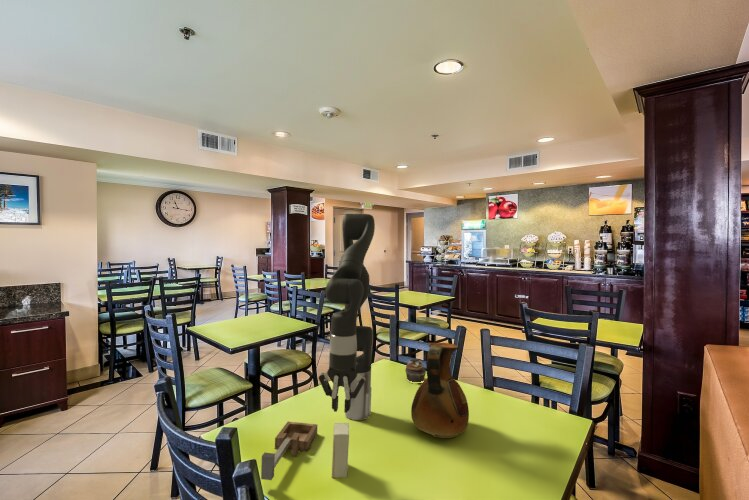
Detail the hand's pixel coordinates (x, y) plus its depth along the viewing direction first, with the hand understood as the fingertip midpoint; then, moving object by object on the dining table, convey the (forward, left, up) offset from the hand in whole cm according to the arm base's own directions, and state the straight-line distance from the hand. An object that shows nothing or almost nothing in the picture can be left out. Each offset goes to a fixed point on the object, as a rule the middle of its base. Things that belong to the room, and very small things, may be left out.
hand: (341, 410), depth 98 cm
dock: (+17, -11, -17) cm, 26 cm away
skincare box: (0, 0, -17) cm, 17 cm away
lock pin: (+17, +3, -15) cm, 23 cm away
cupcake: (-20, -71, -17) cm, 76 cm away
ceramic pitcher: (-29, -28, -17) cm, 44 cm away
